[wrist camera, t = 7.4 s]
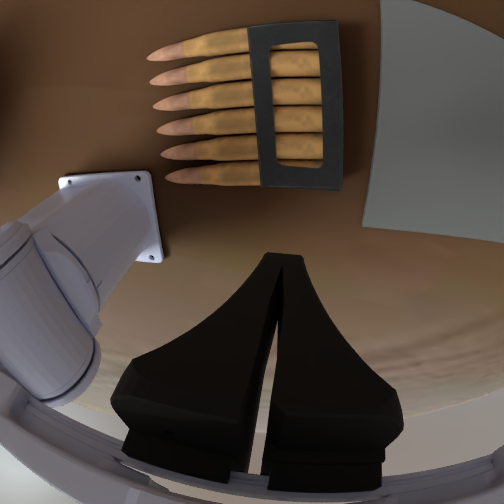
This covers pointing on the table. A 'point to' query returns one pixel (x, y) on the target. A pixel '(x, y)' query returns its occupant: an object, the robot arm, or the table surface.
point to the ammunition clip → (260, 106)
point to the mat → (438, 126)
